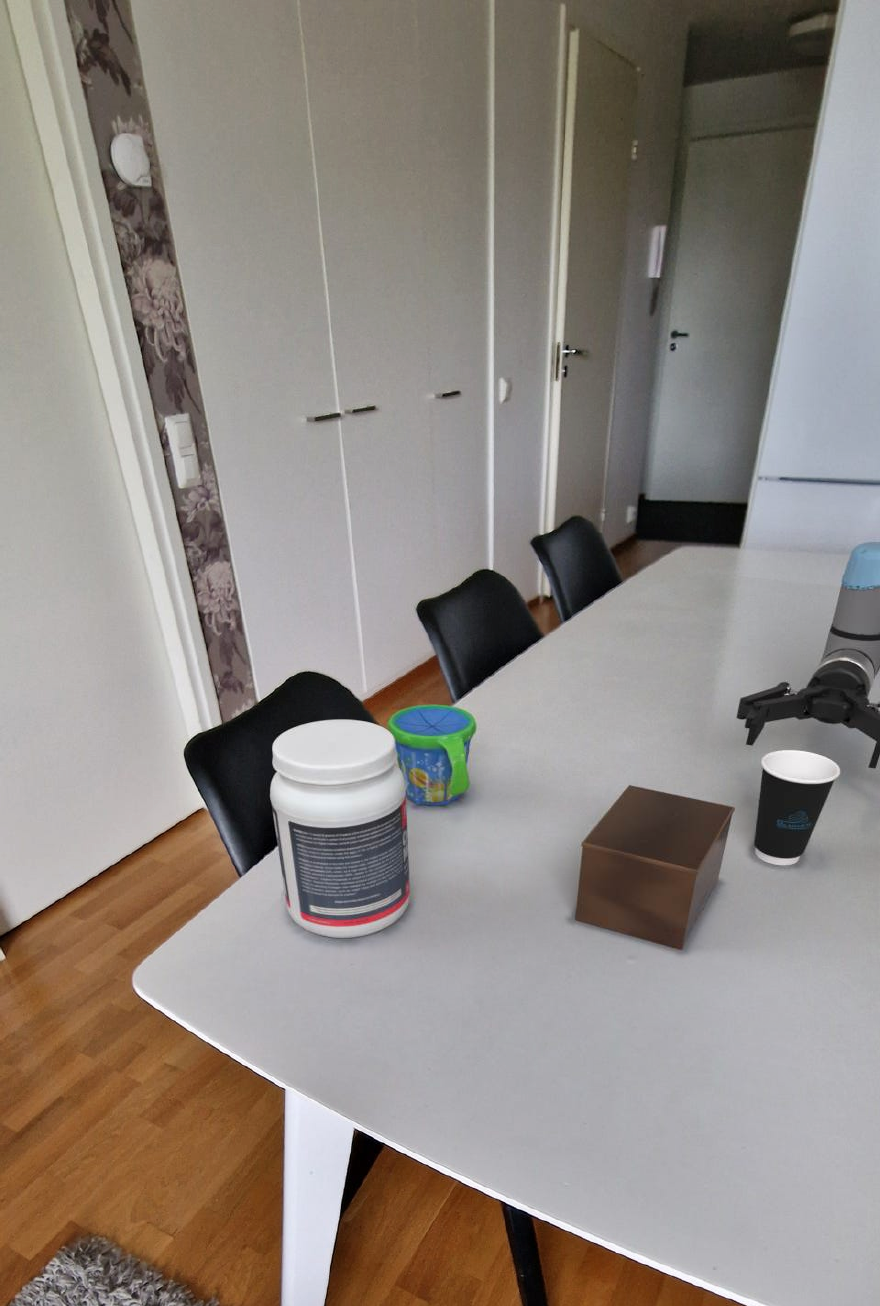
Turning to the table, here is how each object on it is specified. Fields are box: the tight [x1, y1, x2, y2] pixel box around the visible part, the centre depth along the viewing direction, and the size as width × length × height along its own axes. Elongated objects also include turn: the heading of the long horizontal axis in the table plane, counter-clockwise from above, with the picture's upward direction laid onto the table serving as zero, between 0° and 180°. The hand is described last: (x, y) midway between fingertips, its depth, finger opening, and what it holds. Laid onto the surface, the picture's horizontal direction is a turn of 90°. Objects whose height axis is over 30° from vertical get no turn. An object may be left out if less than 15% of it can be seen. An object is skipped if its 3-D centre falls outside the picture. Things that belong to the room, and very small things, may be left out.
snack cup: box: [387, 704, 477, 807], centre depth 106 cm, size 16×10×10 cm
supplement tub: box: [269, 719, 411, 939], centre depth 82 cm, size 13×13×18 cm
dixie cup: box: [753, 749, 841, 866], centre depth 93 cm, size 8×8×11 cm
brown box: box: [574, 784, 736, 951], centre depth 86 cm, size 11×14×9 cm
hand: (811, 745), depth 97 cm, fingers open, 13 cm apart
